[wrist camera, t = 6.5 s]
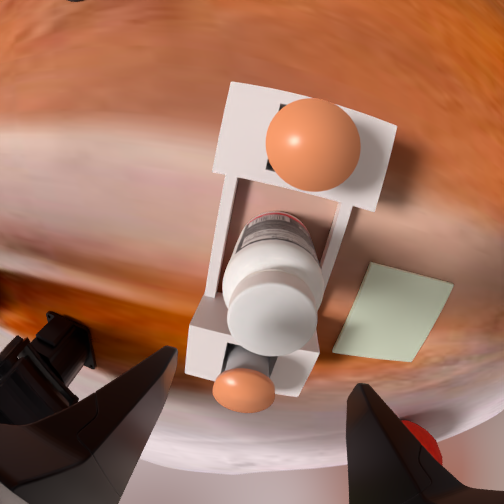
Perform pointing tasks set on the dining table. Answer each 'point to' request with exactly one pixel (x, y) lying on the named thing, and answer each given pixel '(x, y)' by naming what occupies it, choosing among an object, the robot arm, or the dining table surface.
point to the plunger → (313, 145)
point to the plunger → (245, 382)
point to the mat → (392, 314)
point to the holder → (259, 169)
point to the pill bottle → (273, 285)
